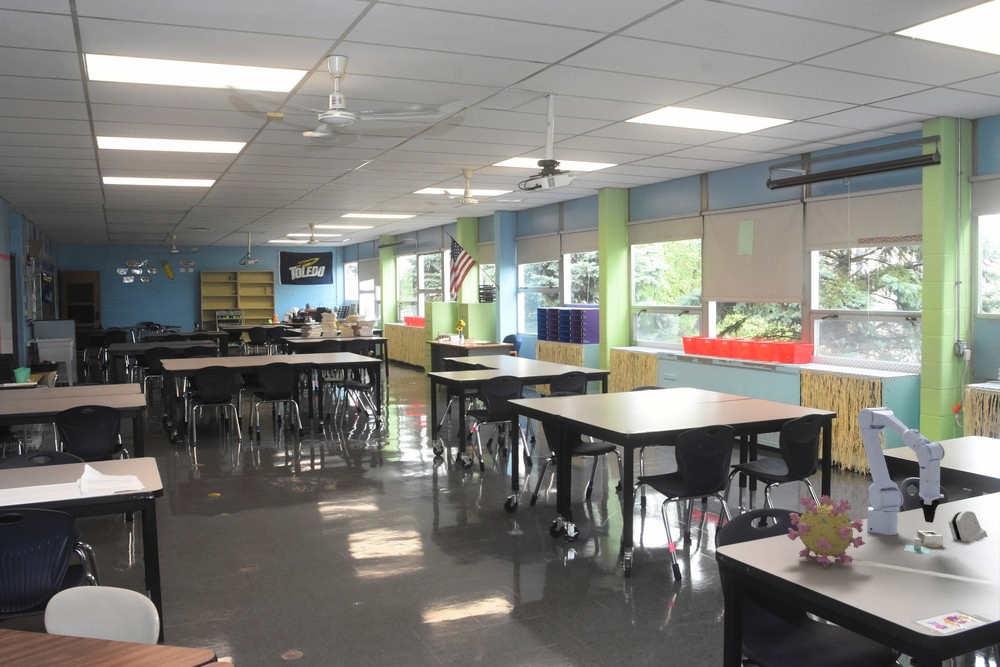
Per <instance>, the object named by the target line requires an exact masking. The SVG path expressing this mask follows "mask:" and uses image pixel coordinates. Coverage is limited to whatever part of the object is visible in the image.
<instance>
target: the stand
mask: <svg viewBox="0 0 1000 667" xmlns="http://www.w3.org/2000/svg"><path fill="white" fill-rule="evenodd" d="M931 548H932V547H931ZM931 548H930V547H927V546H926V547H924V546H922V545H921V539H920V538H917V537H914V538H913V545H910V544H906V545H905V547H904V550H903V551H905V552H911V553H917V554H925V555H930V551H931Z"/></svg>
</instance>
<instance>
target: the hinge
mask: <svg viewBox="0 0 1000 667" xmlns="http://www.w3.org/2000/svg"><path fill="white" fill-rule="evenodd" d="M948 526H949V528H950V532H951V535H952V539H953V540H956V541H960V542H965V543H966V542H968V543H972V542H977V541H980V540H981V539H982V538H986V537H988V534H987V532H986V530H985V529H984V528H982V526H981V525H980V522H979V520H978V518H977V516H976V513H975V512H973V511H971V510H967V511H966V510H964V511H958V512H956V513H954V514H951V516H950V518H949V520H948ZM985 536H986V537H985Z"/></svg>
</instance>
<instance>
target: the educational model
mask: <svg viewBox="0 0 1000 667" xmlns="http://www.w3.org/2000/svg"><path fill="white" fill-rule="evenodd" d="M818 500H819V503H822V504H817V501H816V500H813V497H812V495H809V496H808V497H806V498H805V496H801V498H800V501H799V504H801V505H802V506H804V509H805V510H804V512H802V513H801V514H802V515H800V516H799V514H798V513H794V512H791V513H789V516H790V520H791V521H790V523H791V525H792V526H796V529H797V530H798V531H795V529H793V528H791V527H788V529H787V530H788V531H789V533H788V534H787V536H786V537H788V539H790V540H791V541H795V540H796V539H797V538H798V537H799V539H800V540H801V542H802V543H803V545H804V546H805V548H804V549H802V550H799V556H798V558H805V559H806V560H807V561H810V560H812V557H811V555H810V553H811V552H812V553H814V555H815V556H820V557H817V558H816V560H817V561H816V562H819V563H821V564H822V565H823V566H824V568H825V569H827V567H828V566H829V565H830V564H831V559H829V558H828V557H832V558H835V559H838V564H839V565H842V566H843V565H844V564H846V563H850V564H853V563H852V562H853V559H854V558H853V557H852V556H851V555H846V554H847V551H846V550H847V549H848V548H849V547H851V546H852V545H851V544H853V548H856V549H858V548H859V547H860V546H864V545H866V542H865V541H863V537H862V536H859V535H858V536H857V537H853V535H854V534H853V532H854V529H855V530H856V531H857V532H858V533H859V534H860V533H862V532H863V530H864V529H863V528H862V527H863V526H864V524H863V523H864V520H861V519H860V518H857V517H856V518H855V520H854V522H852V520H851V519H850V518H849V517H848V515H847V514H846V510H848V511H851V510H852V505H851V504H850V503H849V499H846V501H845V500H844V499H841V500H840V502H839V503H840V505H838V504H837V503H836V502H835V500H834V499H832V498H830V496H829V495H825V494H823V495H822V496H820V497H819V498H818Z"/></svg>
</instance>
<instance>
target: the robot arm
mask: <svg viewBox="0 0 1000 667" xmlns="http://www.w3.org/2000/svg"><path fill="white" fill-rule="evenodd" d="M856 418H857V423H858V425H859V430H860V435H861V439H862V440H861V441H862V444H863V447H864V451H865V455H866V459H867V463H868V466H869V470H870V473H871V477H872V481H873V482H872V483H871V485H870V486H869V487H868V493H869V494H868V500H869V503H870V505H871V506H869V507H868V508H867V512H866V514H867V515H866V516H867V518H866V531H867V532H868V533H876V534H881V535H887V536H889V535H890V536H891V535H892V536H893V535H895V536H896V535H897V534H898V520H899V519H898V516H899V515H898V510H900V507H902V505H903V504H904V496H903V493H902V492H901V491H900V489H899V485H898V484H897V483H896V482H894V480H892V479H891V477H890V473H889V470H888V465H887V462H886V458H885V456H884V455H885V454H884V451H883V448H882V444H881V441H880V436H879V435H880V434H881V432H883V431H884V430H885V429H886V428H888V429H890V430H891V431H893V432H894V433H895V434H897V435H898V436H900V437H901V441H902V443H903V444H905V446H907V447H908V448H909V449H911V450H912V451H913V452H915V456H916V458H917V462H918V465H919V492H918V496H919V497H920V499H918V502H919V505H920V507H921V508H922V512H923V516H924V517H923V518H924V521H925V523H932V524H933V522H934V520H935V517H936V516H935V515H936V511H937V508H938V506H939V504H940V502H941V500H940V498H941V499H943V498H945V494H942V493H940V492H941V486H940V485H941V461H942V460H943V459H944V458H945V453H946V452H945V449H944V446H943V445H941V443H940V442H937V441H936V442H933V441H931V439H929V438H927V437H925V436H924V435H923V434H922V433H920V432H921V431H920V430H919V429H915V428H911V429H909V427H907V426H906V425H905V424H904V423H903V422H902V421H901V420H900V419H898V418H897V417H896V416H895V413H894V411H893V410H891V409H890V408H888V407H887V406H882V407H881V406H880V407H869V408H868V407H863V408H861V409H860V410H859V412H858V413H857V416H856Z"/></svg>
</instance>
